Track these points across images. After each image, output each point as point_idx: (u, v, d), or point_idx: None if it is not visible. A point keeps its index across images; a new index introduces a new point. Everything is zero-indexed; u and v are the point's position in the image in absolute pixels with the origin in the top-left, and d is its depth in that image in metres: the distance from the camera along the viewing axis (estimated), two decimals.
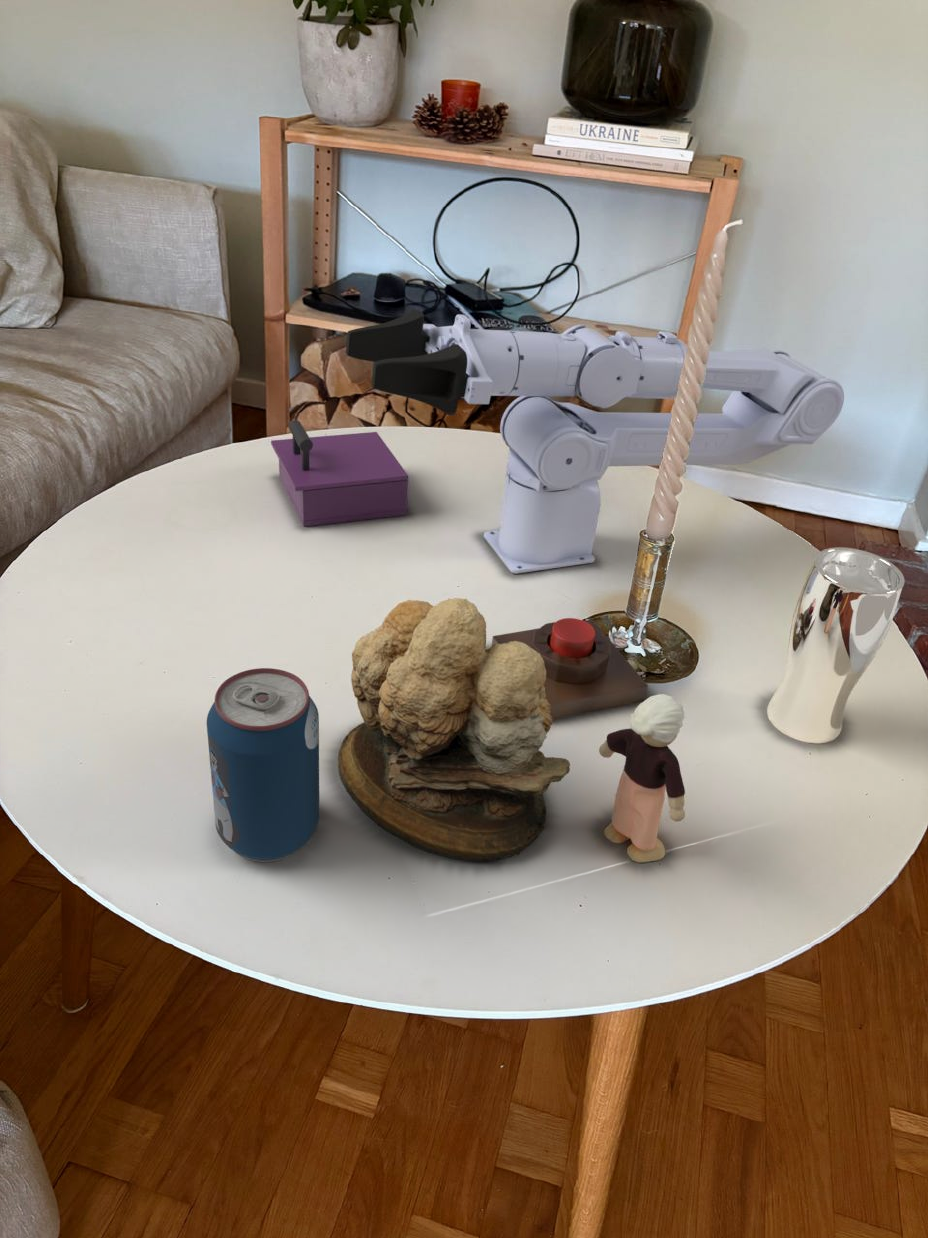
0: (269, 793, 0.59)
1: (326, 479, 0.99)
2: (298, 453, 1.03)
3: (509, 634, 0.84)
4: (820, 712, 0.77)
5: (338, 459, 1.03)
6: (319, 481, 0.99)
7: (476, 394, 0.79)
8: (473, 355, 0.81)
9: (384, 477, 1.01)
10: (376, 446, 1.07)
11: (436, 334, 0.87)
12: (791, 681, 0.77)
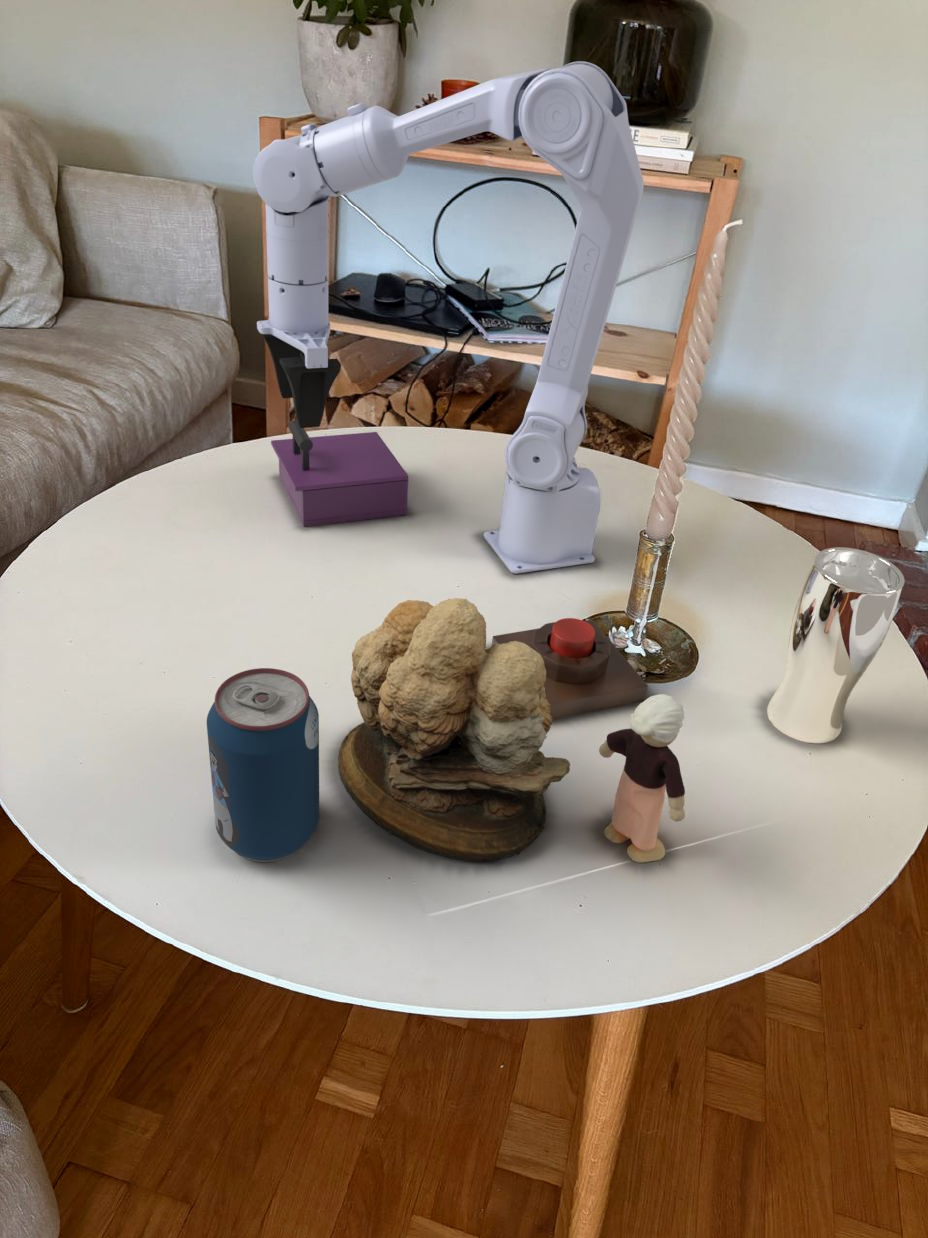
0: (269, 793, 0.59)
1: (326, 479, 0.99)
2: (298, 453, 1.03)
3: (509, 634, 0.84)
4: (820, 712, 0.77)
5: (338, 459, 1.03)
6: (319, 481, 0.99)
7: (319, 362, 0.89)
8: (288, 341, 0.91)
9: (384, 477, 1.01)
10: (376, 446, 1.07)
11: None
12: (791, 681, 0.77)
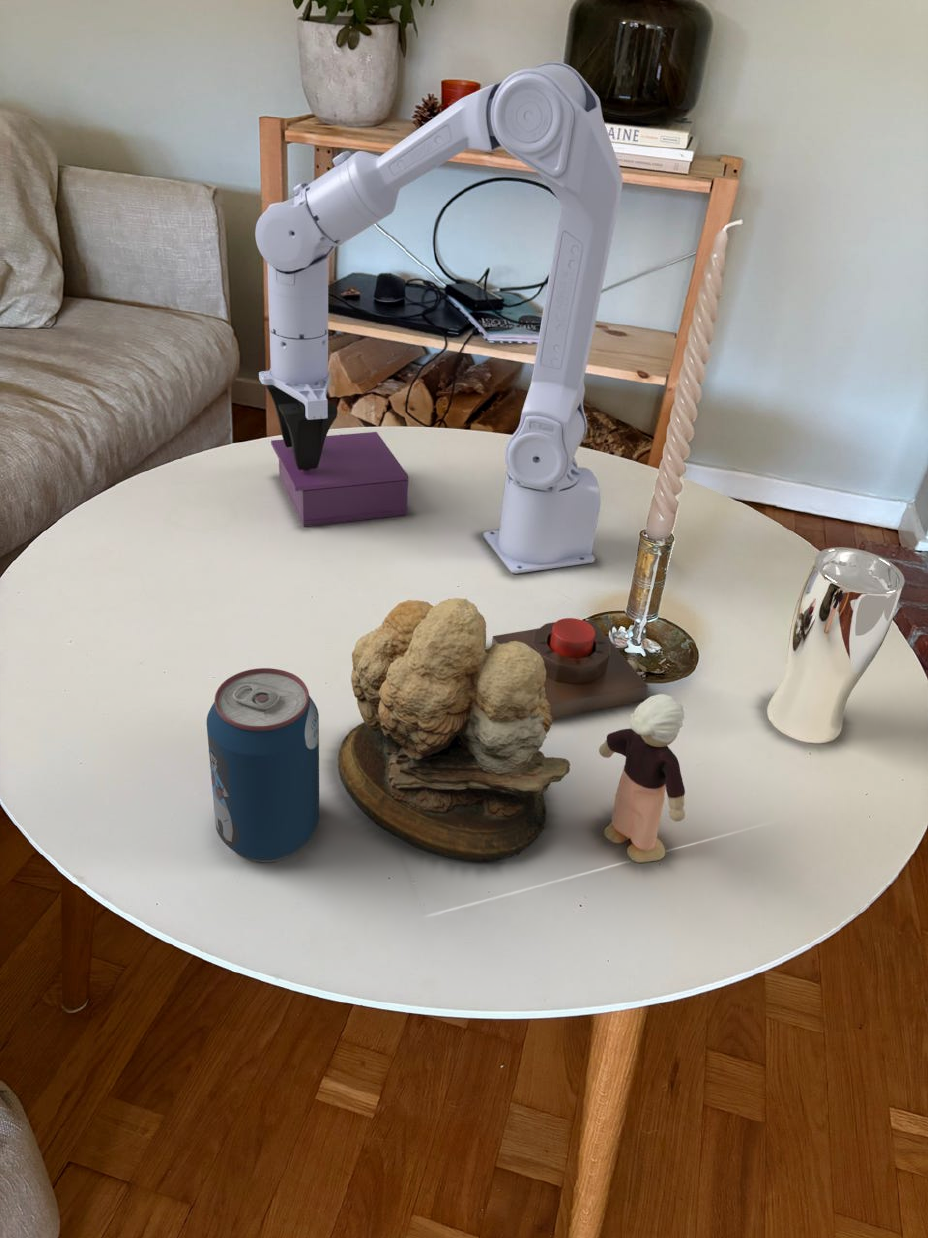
0: (269, 793, 0.59)
1: (326, 479, 0.99)
2: None
3: (509, 634, 0.84)
4: (820, 712, 0.77)
5: (338, 459, 1.03)
6: (319, 481, 0.99)
7: (319, 413, 0.92)
8: (289, 392, 0.94)
9: (384, 477, 1.01)
10: (376, 446, 1.07)
11: None
12: (791, 681, 0.77)
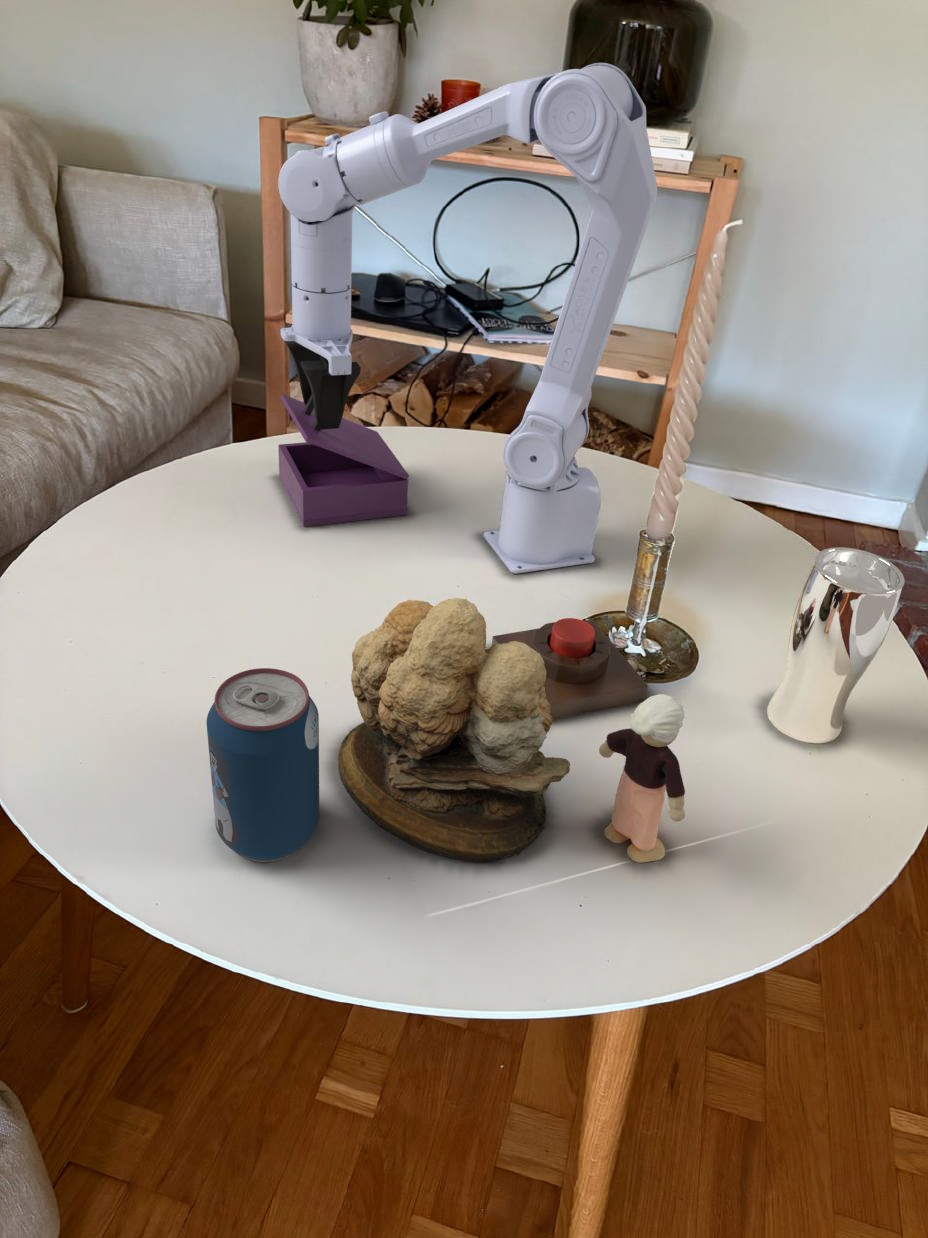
0: (269, 793, 0.59)
1: (336, 445, 0.97)
2: (308, 414, 1.01)
3: (509, 634, 0.84)
4: (820, 712, 0.77)
5: (345, 435, 1.02)
6: (329, 443, 0.97)
7: (342, 369, 0.90)
8: (312, 348, 0.92)
9: (388, 467, 1.00)
10: (378, 442, 1.06)
11: None
12: (791, 681, 0.77)
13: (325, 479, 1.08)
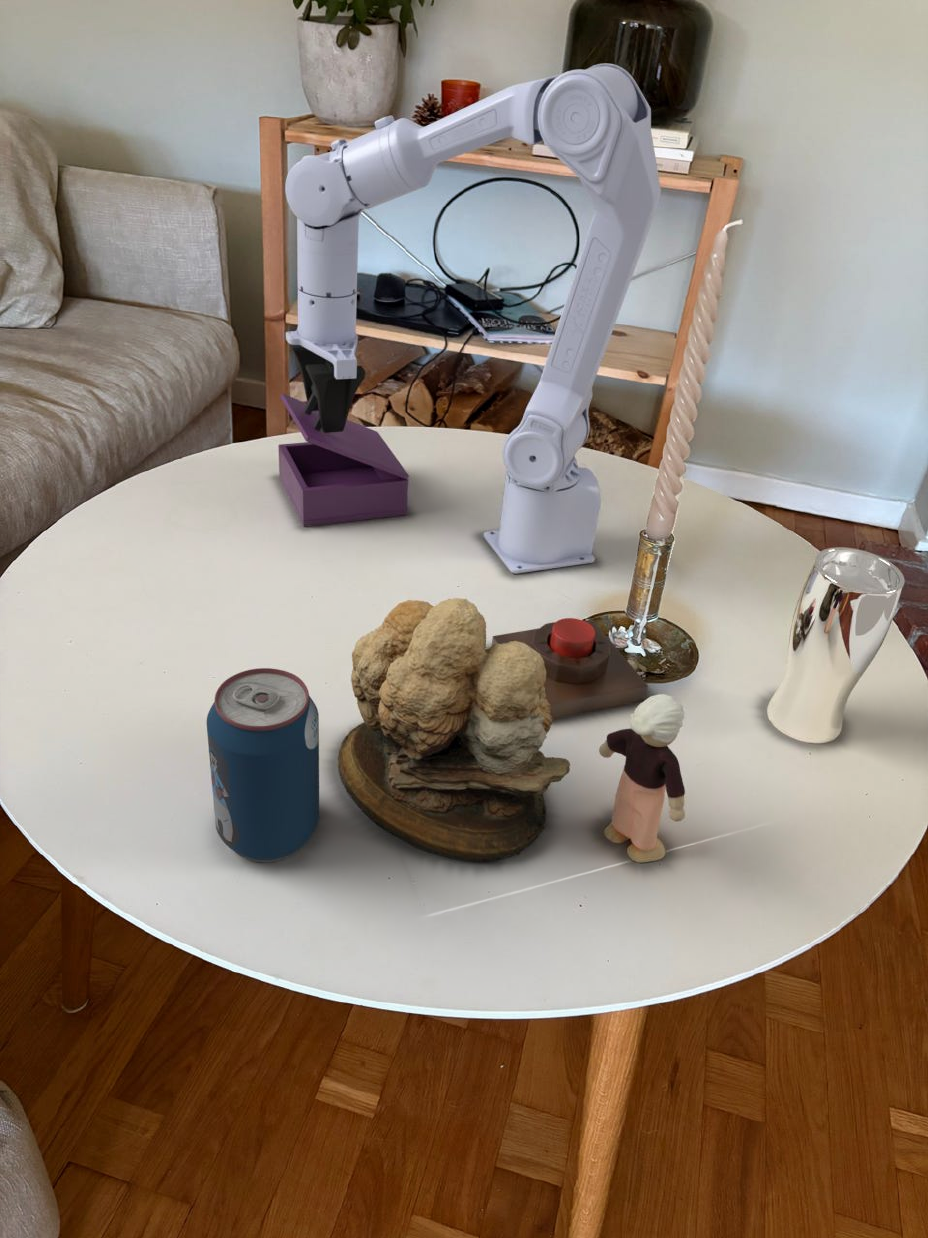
0: (269, 793, 0.59)
1: (336, 444, 0.97)
2: (308, 414, 1.01)
3: (509, 634, 0.84)
4: (820, 712, 0.77)
5: (345, 435, 1.02)
6: (329, 443, 0.97)
7: (348, 373, 0.91)
8: (317, 352, 0.92)
9: (388, 467, 1.00)
10: (378, 442, 1.06)
11: None
12: (791, 681, 0.77)
13: (325, 479, 1.08)
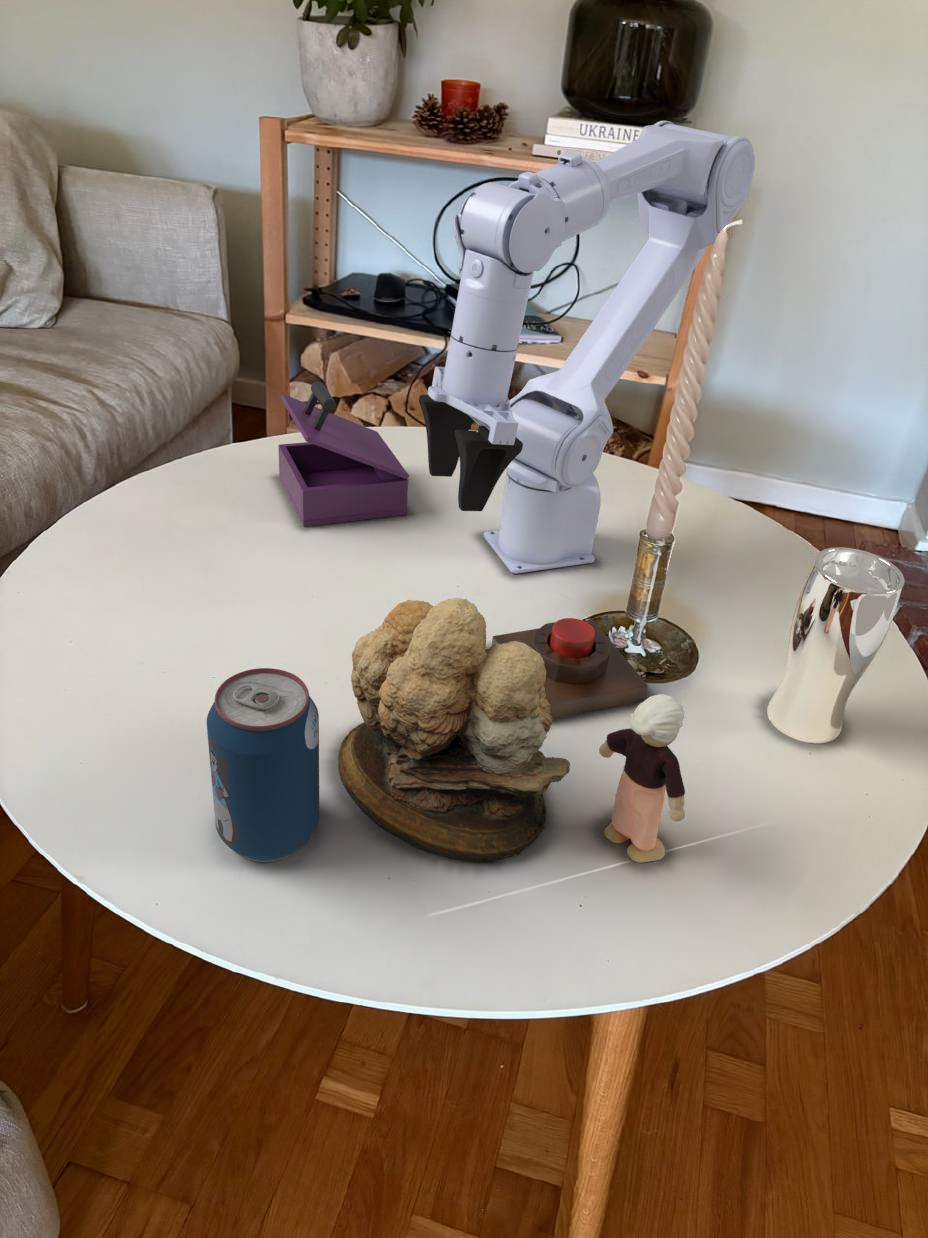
0: (269, 793, 0.59)
1: (336, 444, 0.97)
2: (308, 414, 1.01)
3: (509, 634, 0.84)
4: (820, 712, 0.77)
5: (345, 435, 1.02)
6: (329, 443, 0.97)
7: (506, 438, 0.77)
8: (468, 412, 0.79)
9: (388, 467, 1.00)
10: (378, 442, 1.06)
11: None
12: (791, 681, 0.77)
13: (325, 479, 1.08)
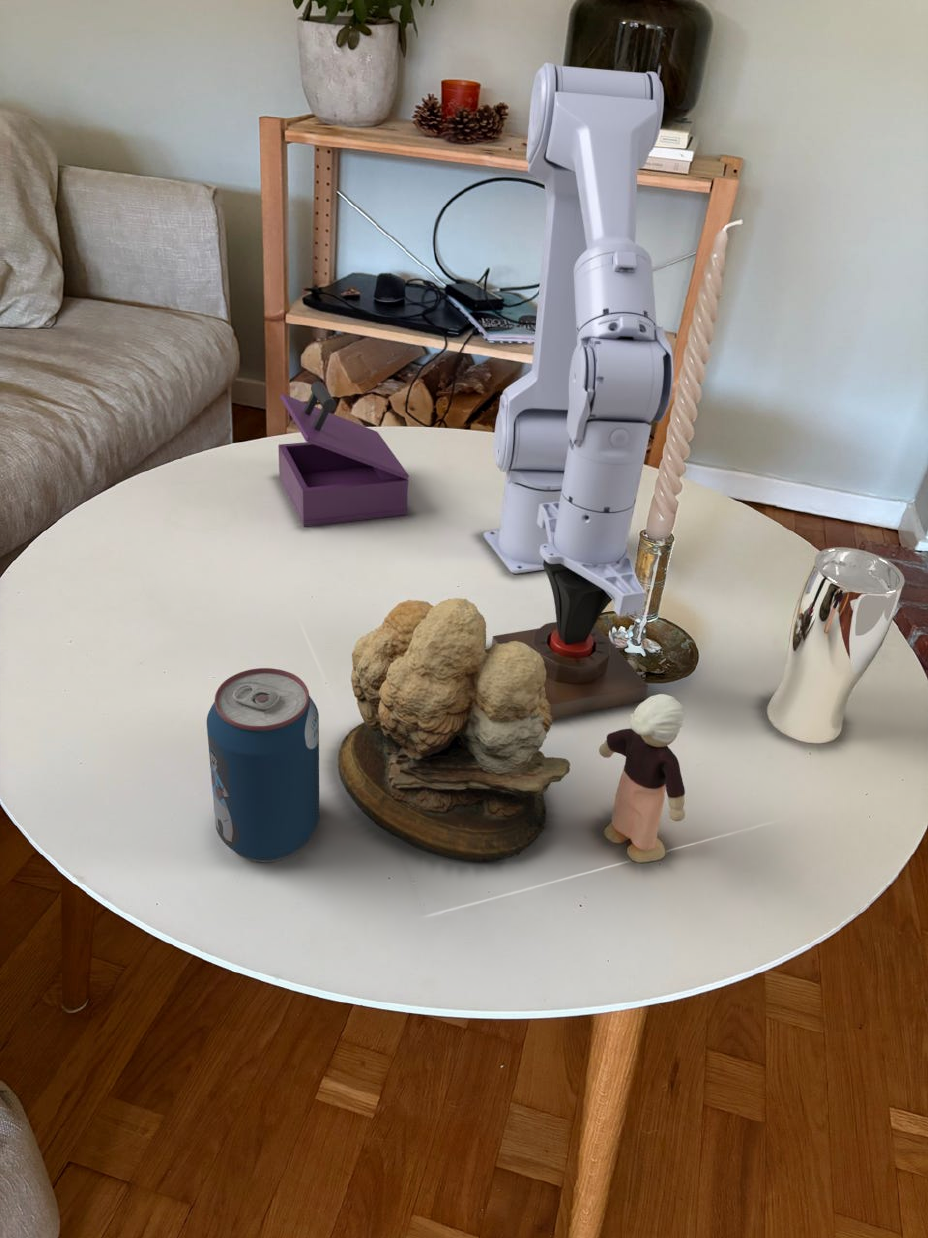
0: (269, 793, 0.59)
1: (336, 444, 0.97)
2: (308, 414, 1.01)
3: (509, 634, 0.84)
4: (820, 712, 0.77)
5: (345, 435, 1.02)
6: (329, 443, 0.97)
7: (633, 608, 0.71)
8: (589, 578, 0.72)
9: (388, 467, 1.00)
10: (378, 442, 1.06)
11: None
12: (791, 681, 0.77)
13: (325, 479, 1.08)
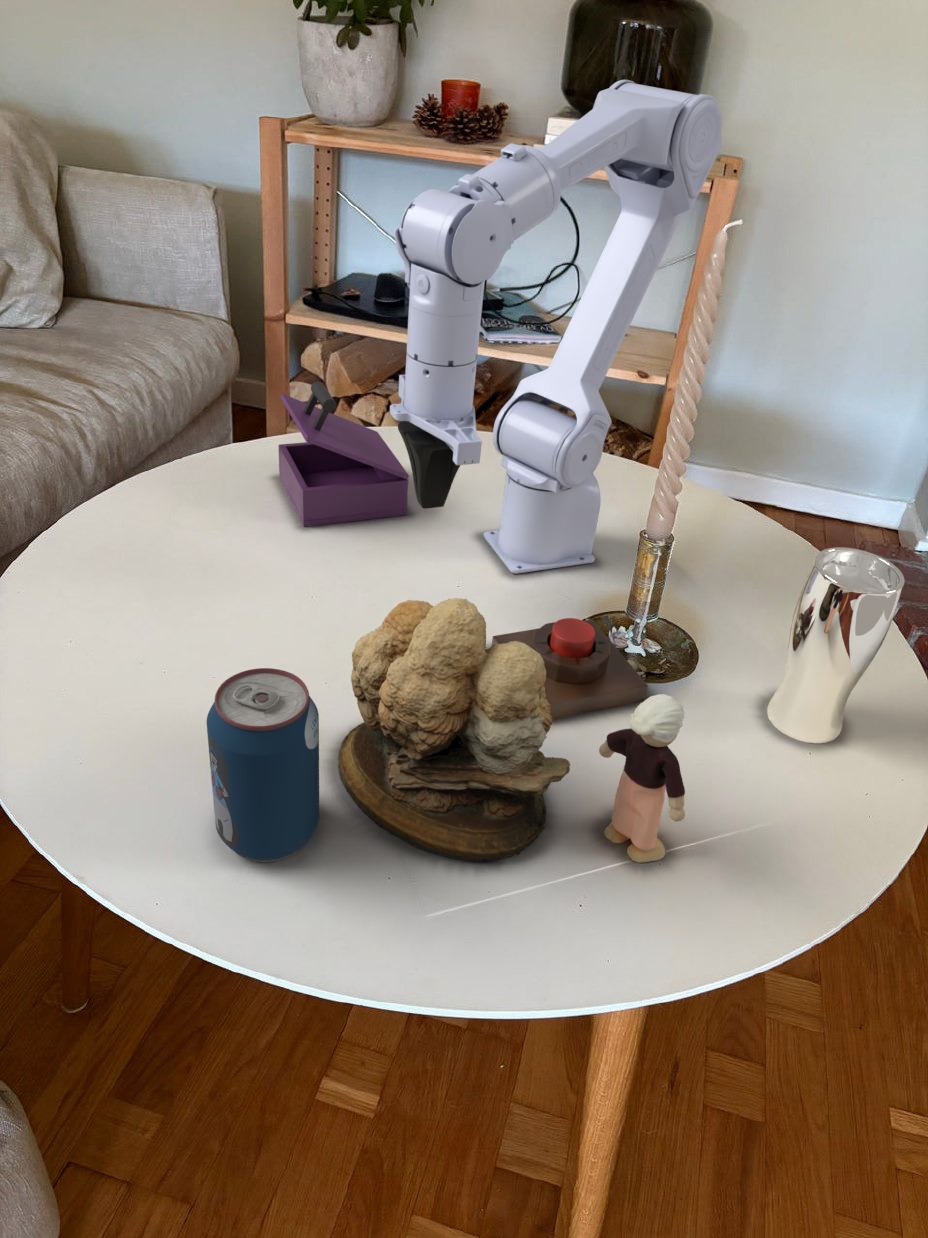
0: (269, 793, 0.59)
1: (336, 444, 0.97)
2: (308, 414, 1.01)
3: (509, 634, 0.84)
4: (820, 712, 0.77)
5: (345, 435, 1.02)
6: (329, 443, 0.97)
7: (470, 457, 0.75)
8: (431, 431, 0.76)
9: (388, 467, 1.00)
10: (378, 442, 1.06)
11: None
12: (791, 681, 0.77)
13: (325, 479, 1.08)
